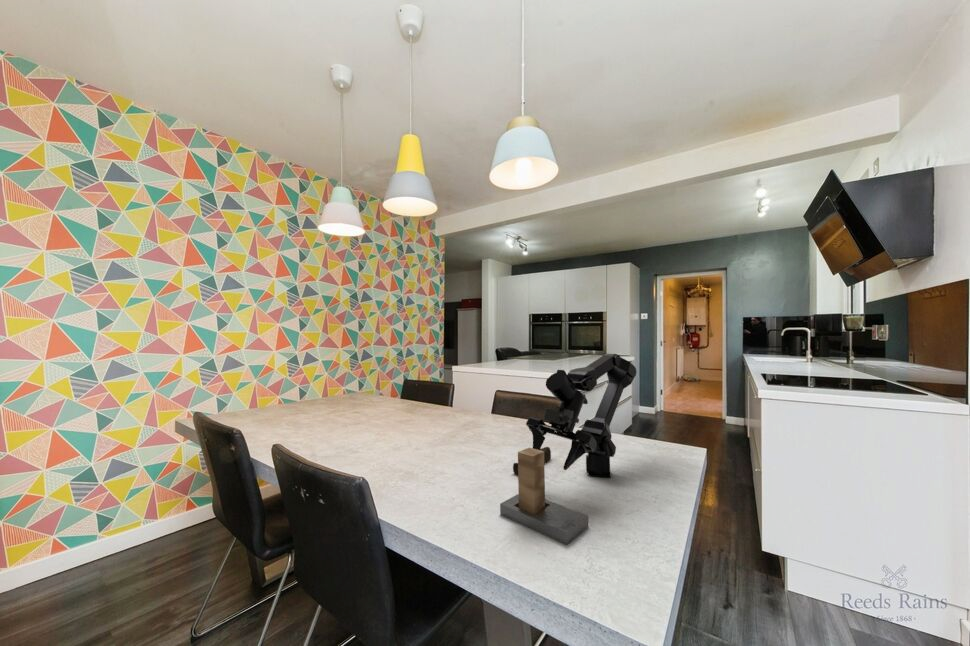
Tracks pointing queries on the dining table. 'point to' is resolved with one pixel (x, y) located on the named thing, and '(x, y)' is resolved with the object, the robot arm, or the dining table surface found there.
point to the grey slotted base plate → (548, 519)
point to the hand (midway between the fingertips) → (548, 463)
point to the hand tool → (546, 458)
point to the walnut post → (531, 480)
